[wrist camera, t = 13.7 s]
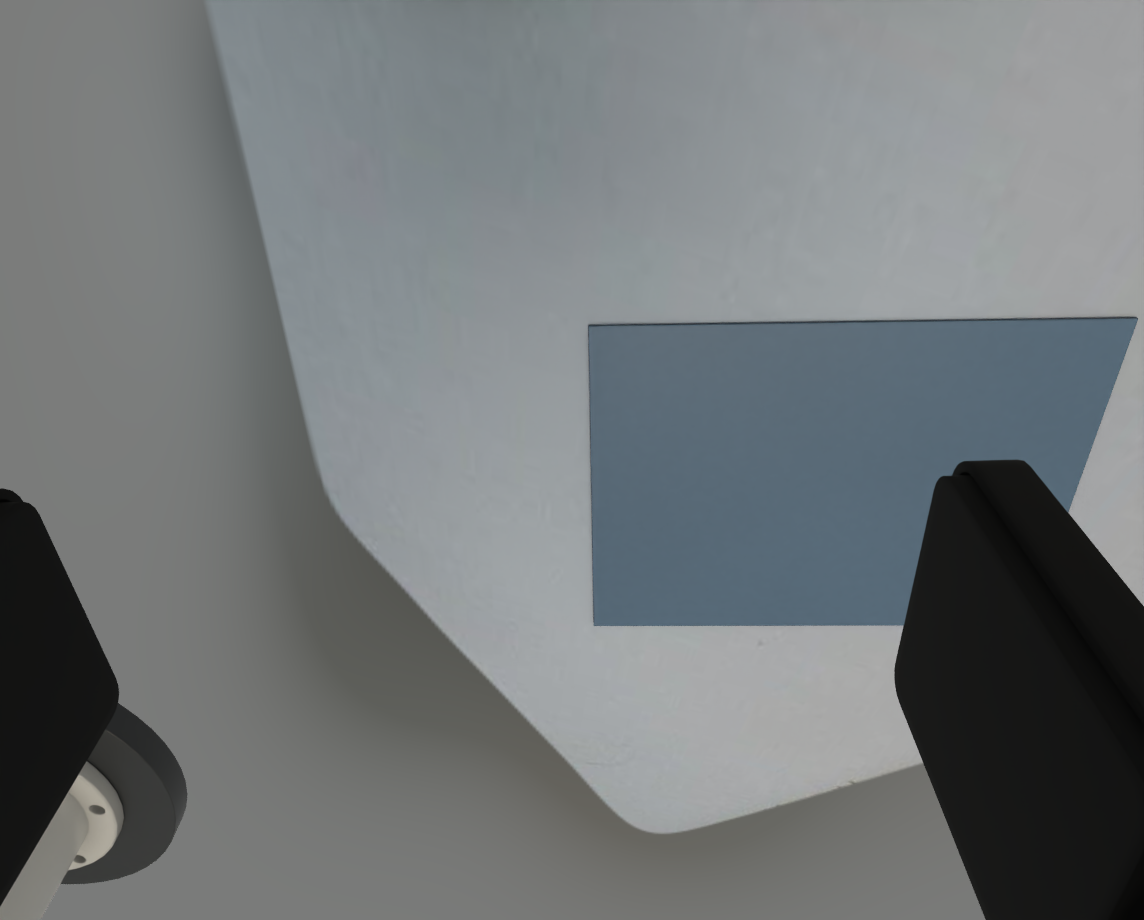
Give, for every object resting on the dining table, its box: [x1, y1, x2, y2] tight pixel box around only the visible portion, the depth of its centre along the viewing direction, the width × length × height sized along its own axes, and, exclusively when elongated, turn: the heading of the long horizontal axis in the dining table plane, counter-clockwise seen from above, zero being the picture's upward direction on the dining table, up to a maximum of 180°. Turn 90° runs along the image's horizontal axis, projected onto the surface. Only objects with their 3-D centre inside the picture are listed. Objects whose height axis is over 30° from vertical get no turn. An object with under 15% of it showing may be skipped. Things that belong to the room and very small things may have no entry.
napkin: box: [589, 318, 1138, 626], centre depth 37 cm, size 21×16×1 cm
